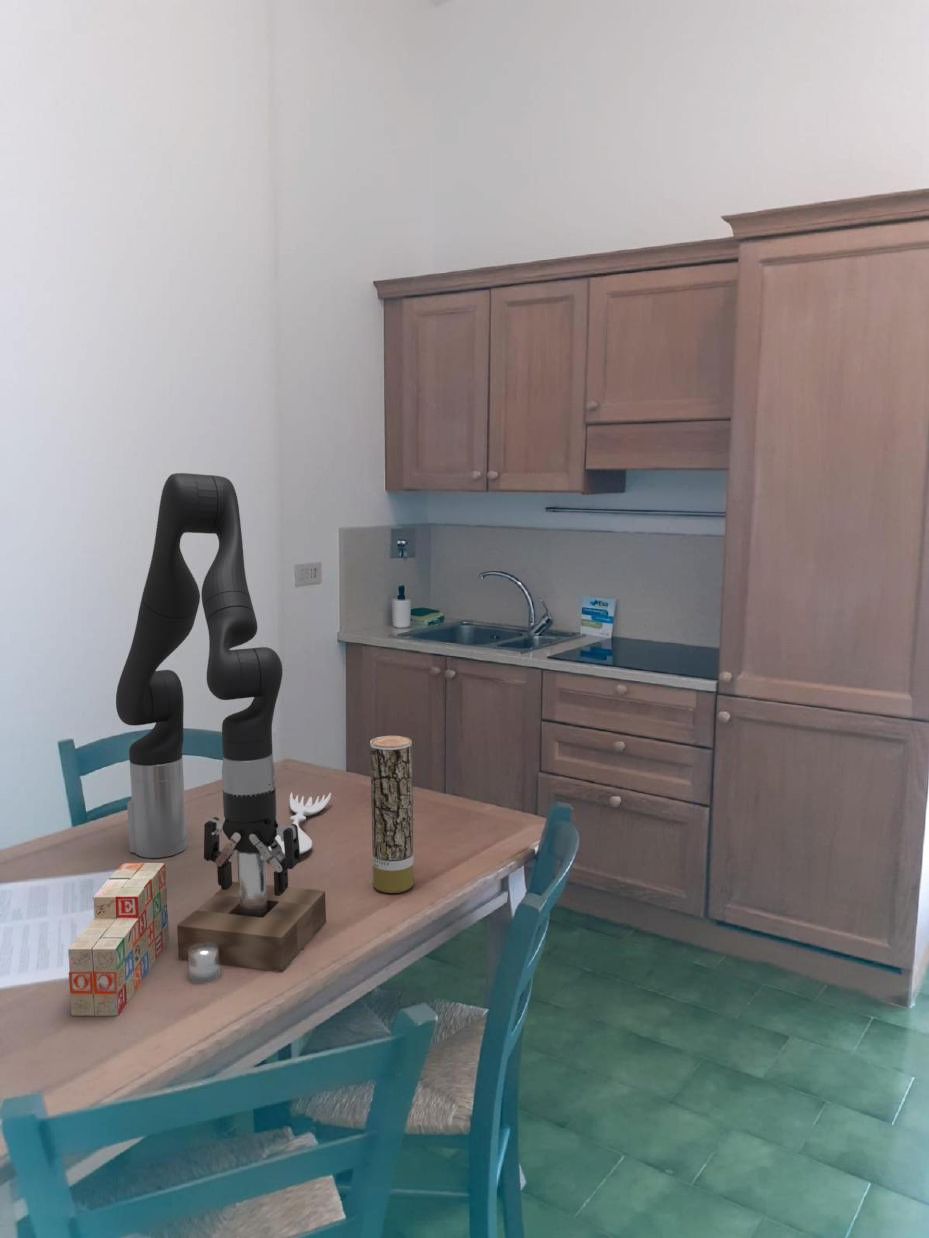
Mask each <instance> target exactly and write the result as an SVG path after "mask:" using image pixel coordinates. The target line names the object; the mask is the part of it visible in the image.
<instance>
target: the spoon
mask: <svg viewBox="0 0 929 1238" xmlns="http://www.w3.org/2000/svg"><path fill="white" fill-rule="evenodd" d="M331 799H332V792H329V793H328V795H327V796H326V795H325V794H323V796H322V797H321V799H320V796H319V795H318V796H316V800H315V801H314V803H313V797H312V796H310V797H308V799H307V801H306V803H304V802H305V796H304V795H302V797H301V799H300V802H299V794H296V797H295V799H294V795H293V792H290V795H289V808H290V810H291V811H292V812H293V813H294V814H295V815H291V816H290V818H289V820H290V821H292V824H295V825H297V827H298V838H299V849H300V855H302V854H304V853H307V852H308V851H310V849H311V848H312V847H313V840H312V838H310V837H309V835H308V834H306V833H305V831H303V830H302V828H301V827H300V825H299V823H300V822H304V821H306V820H307V817H308V816H312V815H316V814H317V813H319V812H321V811H322V810H323V809H324V808H325V807H326V805H327V804H328V803H329V802H330V801H331ZM306 816H307V817H306ZM275 839H276V840H277V842H278V843H279V844H280V846H281V847H282V852H283V853H284V855H285V849H284V842H283V841H281V837H280V836H279V835H277V836H276V837H275ZM268 848H269V850H271V847H270V846H269V847H268Z"/></svg>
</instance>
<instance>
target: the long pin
mask: <svg viewBox="0 0 929 1238" xmlns="http://www.w3.org/2000/svg"><path fill="white" fill-rule="evenodd" d="M236 852H237V853H236V854H237V855H236V856H237V875H238V882H239V900H240V915H243V916H252V917H261V918H263V917H264V916H265V915H266V914H267V913H268V905H267V885H268V884H267V861H266V860H265V858H264V857H263V856H262V854H261V853H255V852H245V851H238V850H236Z"/></svg>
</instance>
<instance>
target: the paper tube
mask: <svg viewBox="0 0 929 1238" xmlns="http://www.w3.org/2000/svg"><path fill="white" fill-rule="evenodd" d="M412 741H413V740H412V739H411V738H409V737H407V736H402V735H401V736H400V735H384V736H379V737H375V738H372V739H371V740H370V742H369V755H370V793H371V795H370V799H371V801H370V802H371V804H370V805H371V806H370V807H371V844H372V846H371V847H372V848H371V849H372V850H371V851H372V853H371V854H372V879H373V880H372V883H373V884H372V885H373V886H374V888H375V889H376V890H377V891H379V892H381V893H385V894H400V893H403V892H407V891H409V890H410V889H411V888H412V887H413V886H414V882H415V879H414V878H415V877H414V875H415V872H414V869H415V868H414V867H415V865H414V862H415V861H414V859H415V857H414V809H413V808H414V805H413V804H414V803H413V802H414V801H413V800H414V799H413V796H414V795H413V794H414V793H413V792H414V791H413V742H412Z"/></svg>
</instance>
